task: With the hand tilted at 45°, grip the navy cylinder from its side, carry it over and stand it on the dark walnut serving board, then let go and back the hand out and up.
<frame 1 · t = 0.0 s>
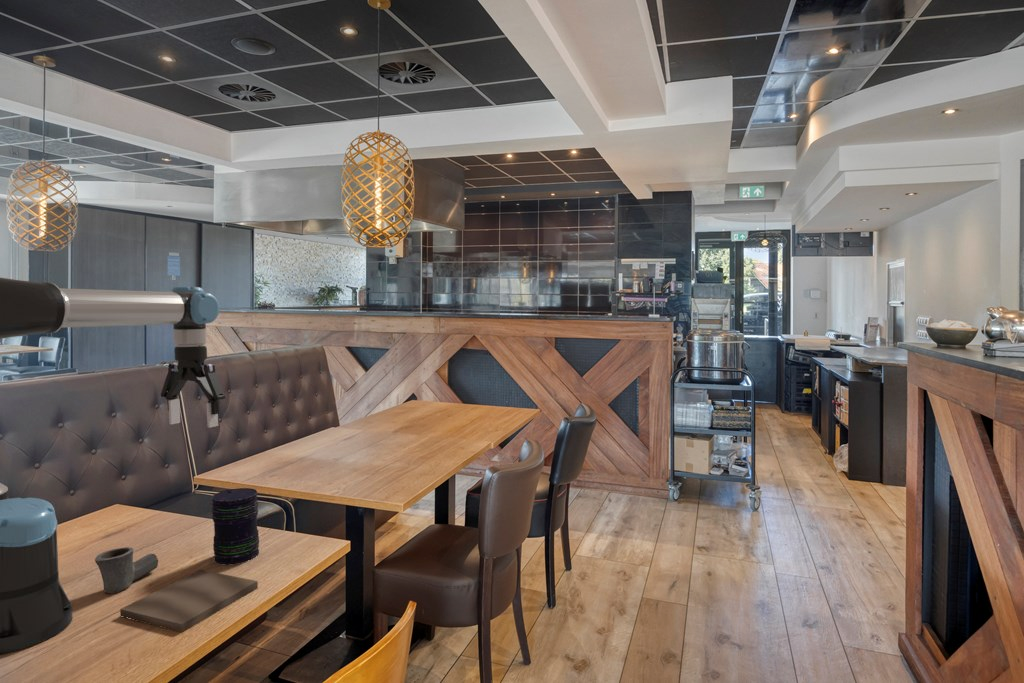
hand: (193, 425, 156), 28 cm above the table, tool pointing down, fingers open, 13 cm apart
pipe: (127, 585, 125), on the table
walnut serving board: (192, 601, 117), on the table
navy cylinder: (237, 557, 139), on the table
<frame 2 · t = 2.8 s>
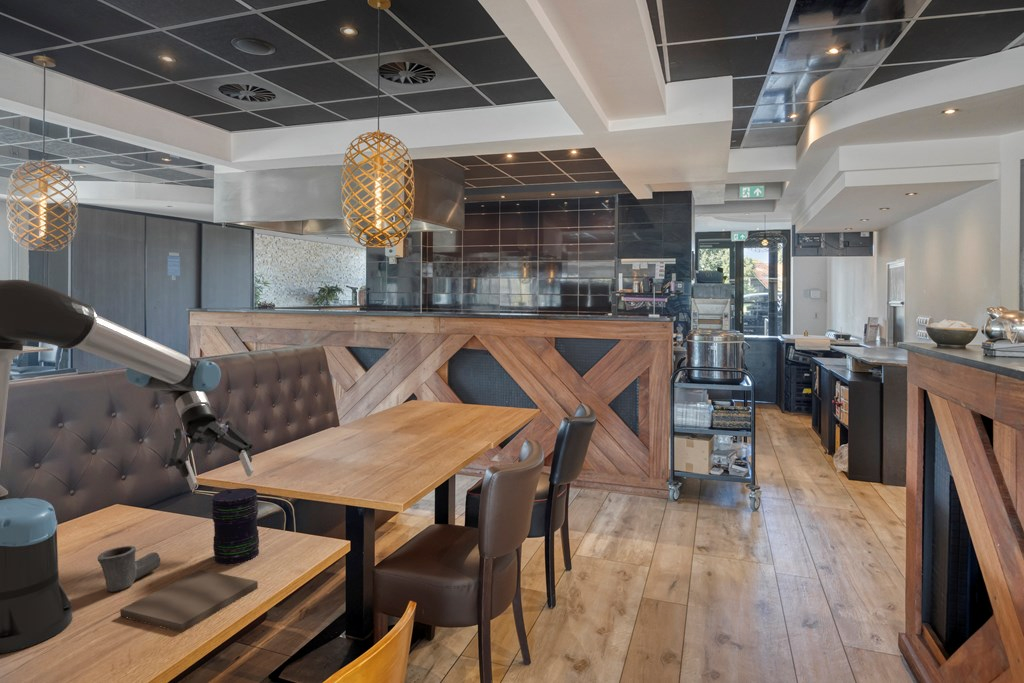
hand: (223, 480, 144), 17 cm above the table, tool tilted 45°, fingers open, 13 cm apart
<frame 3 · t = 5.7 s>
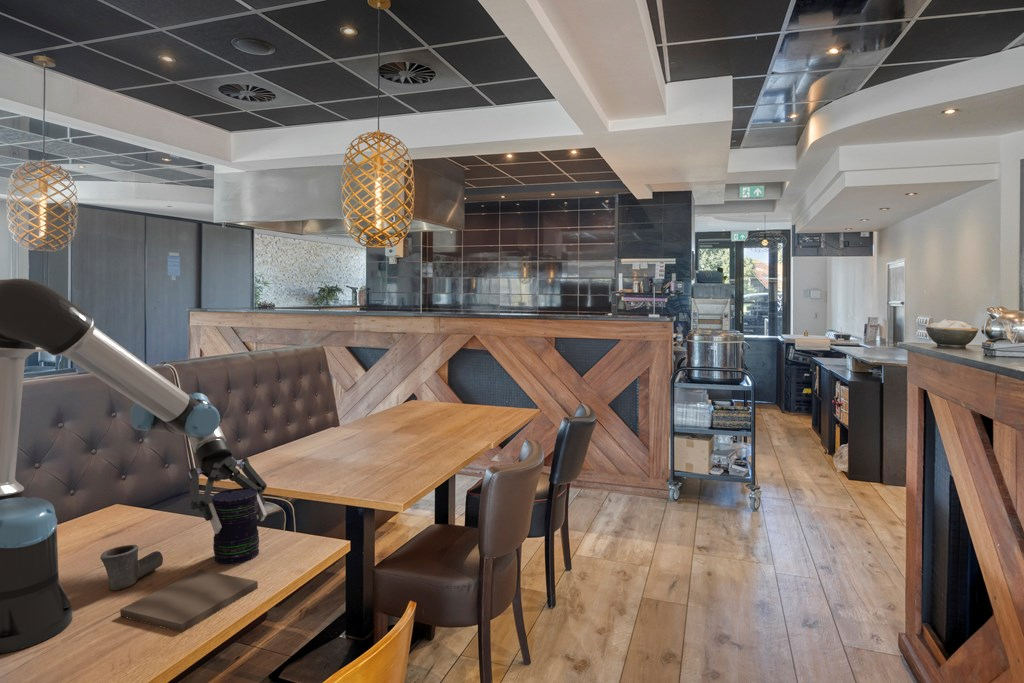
hand: (241, 524, 137), 8 cm above the table, tool tilted 45°, fingers closed on navy cylinder, 10 cm apart
navy cylinder: (237, 556, 139), on the table, touching gripper
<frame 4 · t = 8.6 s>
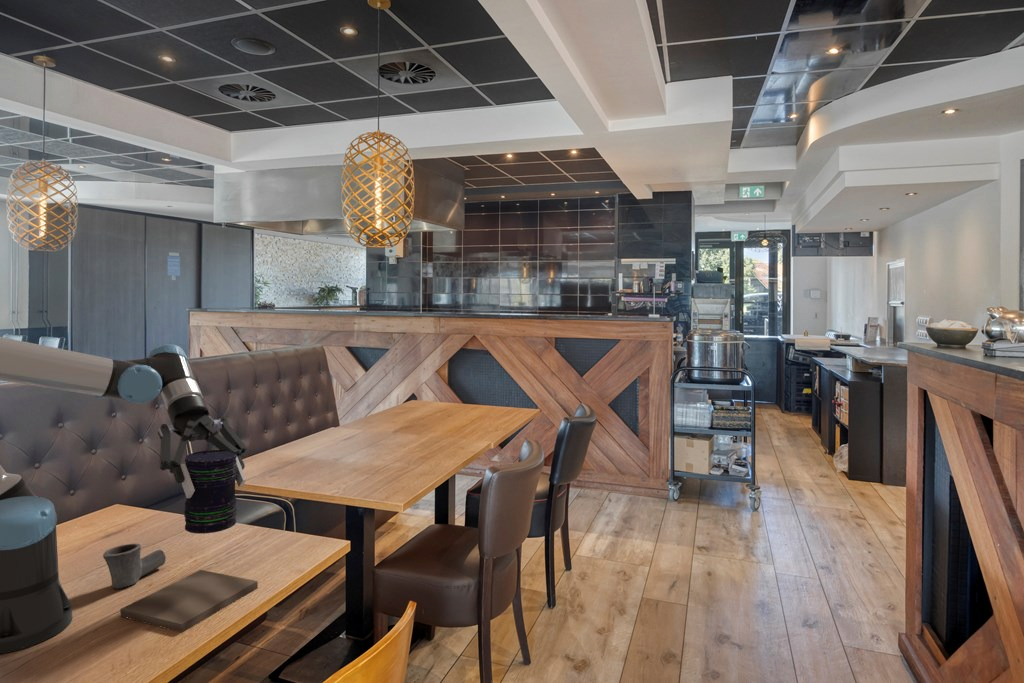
hand: (217, 488, 122), 21 cm above the table, tool tilted 45°, fingers closed on navy cylinder, 10 cm apart
navy cylinder: (210, 525, 124), point 13 cm above the table, touching gripper
when the fingers open (11 cm above the table, at t = 12.0 s): navy cylinder drops 1 cm, resting on walnut serving board.
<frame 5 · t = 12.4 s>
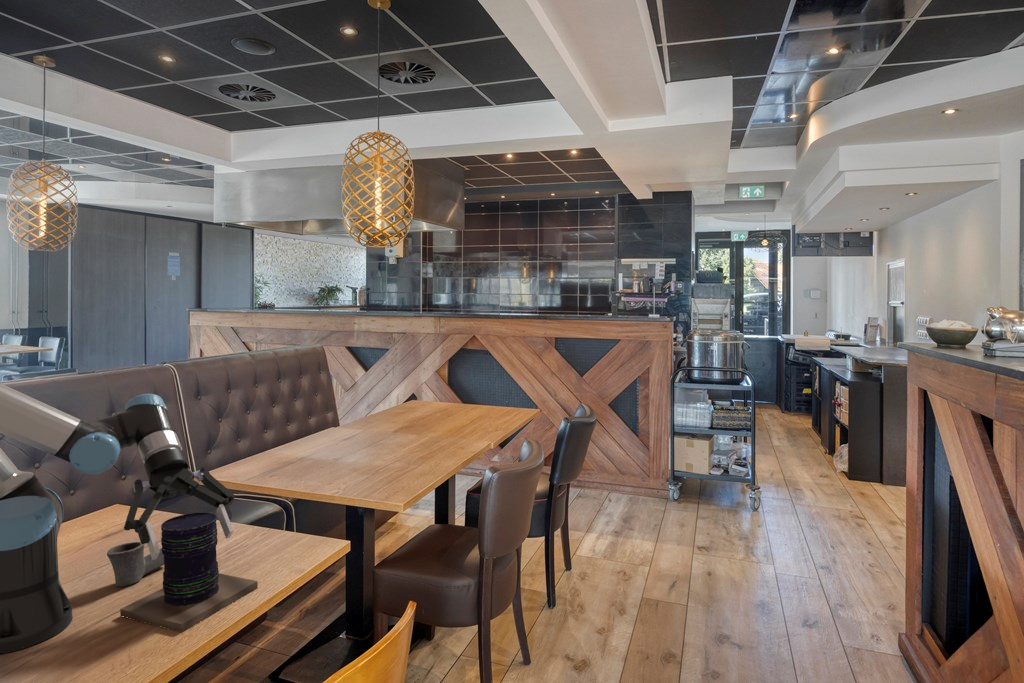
hand: (194, 545, 115), 12 cm above the table, tool tilted 45°, fingers open, 13 cm apart
navy cylinder: (192, 595, 117), point 1 cm above the table, touching walnut serving board
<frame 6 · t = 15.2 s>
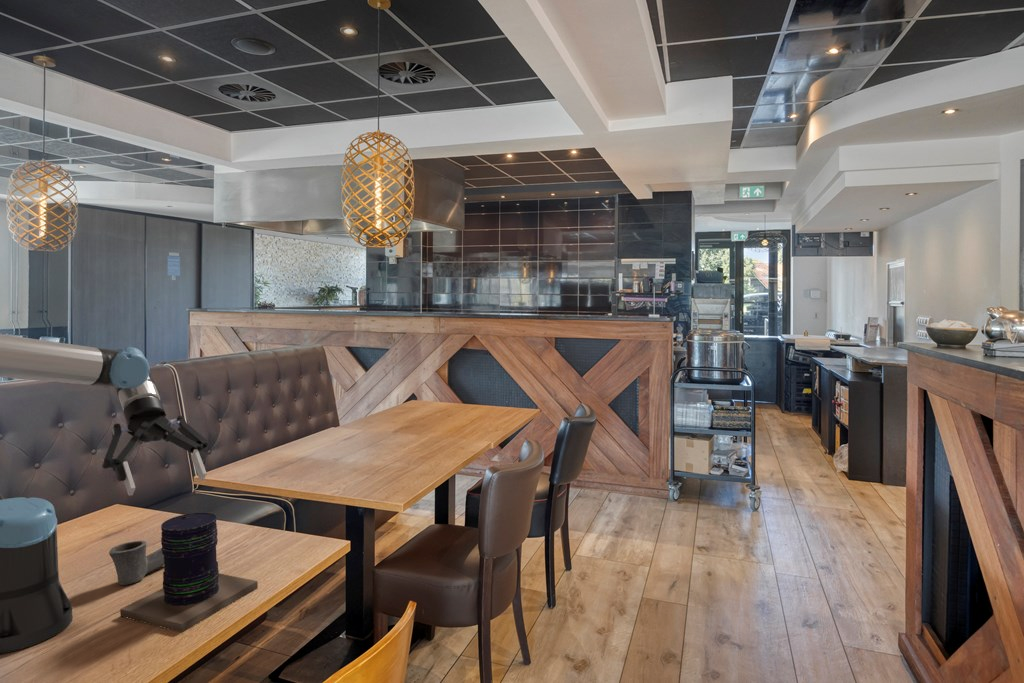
hand: (169, 484, 123), 22 cm above the table, tool tilted 45°, fingers open, 13 cm apart
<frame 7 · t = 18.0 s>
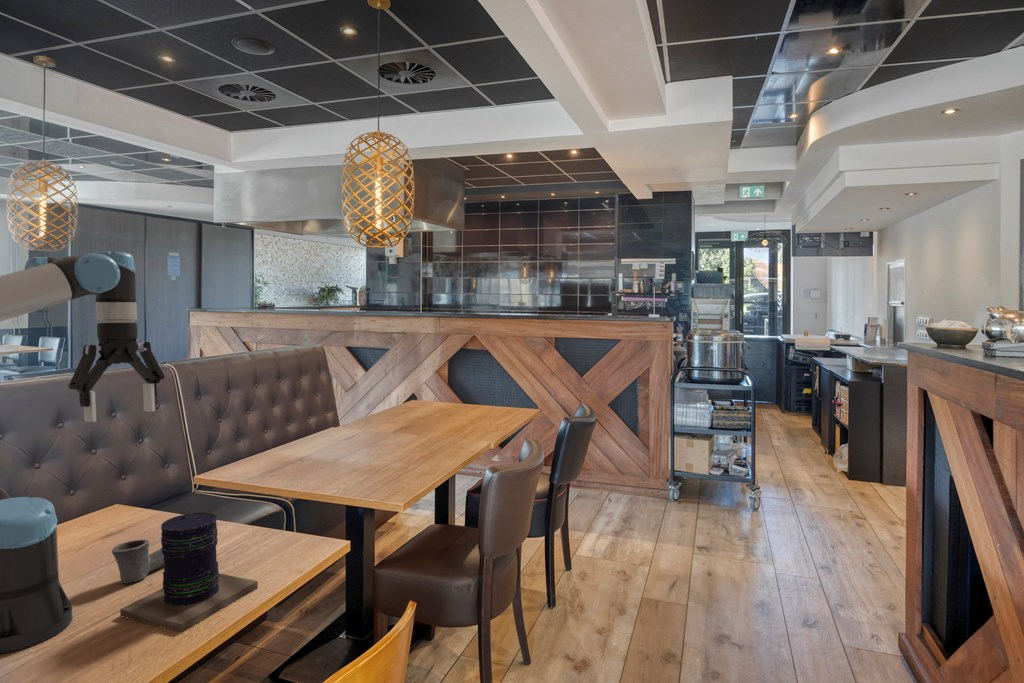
hand: (121, 416, 132), 35 cm above the table, tool pointing down, fingers open, 13 cm apart
at the end: navy cylinder inside the target area on the walnut serving board (0.1 cm from its centre), point 1.3 cm above the walnut serving board's base; navy cylinder tilted 0°; the gripper is holding nothing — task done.
